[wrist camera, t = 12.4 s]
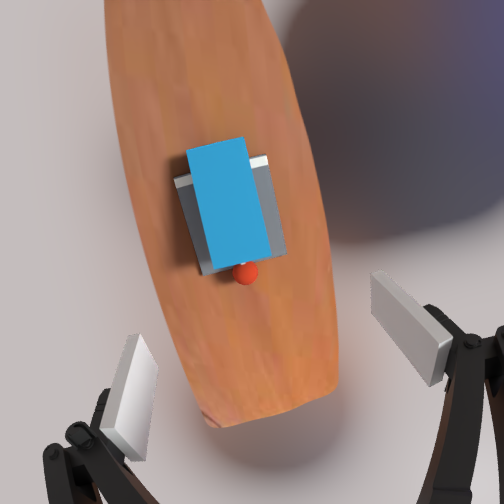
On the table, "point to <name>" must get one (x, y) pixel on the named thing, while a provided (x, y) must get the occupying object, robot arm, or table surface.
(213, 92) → the table surface
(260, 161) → the mat
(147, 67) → the table surface
